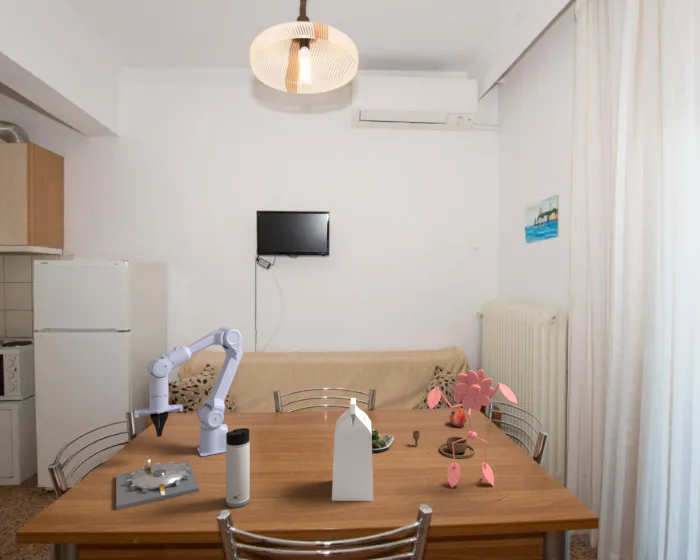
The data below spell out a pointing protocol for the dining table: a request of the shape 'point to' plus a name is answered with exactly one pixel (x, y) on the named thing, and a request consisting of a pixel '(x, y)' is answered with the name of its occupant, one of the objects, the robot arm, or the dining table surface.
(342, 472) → the milk
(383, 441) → the salad plate
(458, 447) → the place setting
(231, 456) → the travel mug
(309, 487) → the dining table surface
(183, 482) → the timing board
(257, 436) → the dining table surface
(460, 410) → the pomegranate
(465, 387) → the figurine
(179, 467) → the sprocket
